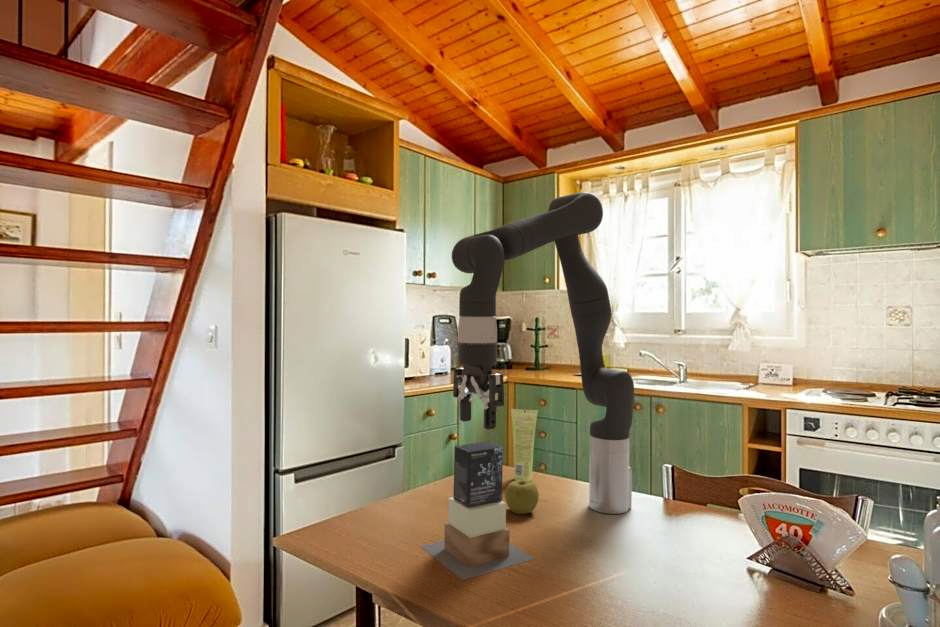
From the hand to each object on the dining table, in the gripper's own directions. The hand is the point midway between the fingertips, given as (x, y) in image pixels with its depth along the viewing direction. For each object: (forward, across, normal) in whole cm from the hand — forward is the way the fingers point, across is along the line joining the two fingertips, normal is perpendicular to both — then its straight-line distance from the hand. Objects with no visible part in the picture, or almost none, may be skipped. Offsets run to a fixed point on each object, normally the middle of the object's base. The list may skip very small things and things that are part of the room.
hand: (477, 424), depth 105 cm
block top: (+20, 0, 0) cm, 20 cm away
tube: (+26, +33, -37) cm, 56 cm away
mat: (+25, 0, 0) cm, 25 cm away
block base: (+25, 0, 0) cm, 25 cm away
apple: (+25, +13, -21) cm, 35 cm away
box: (+15, 0, 0) cm, 15 cm away
